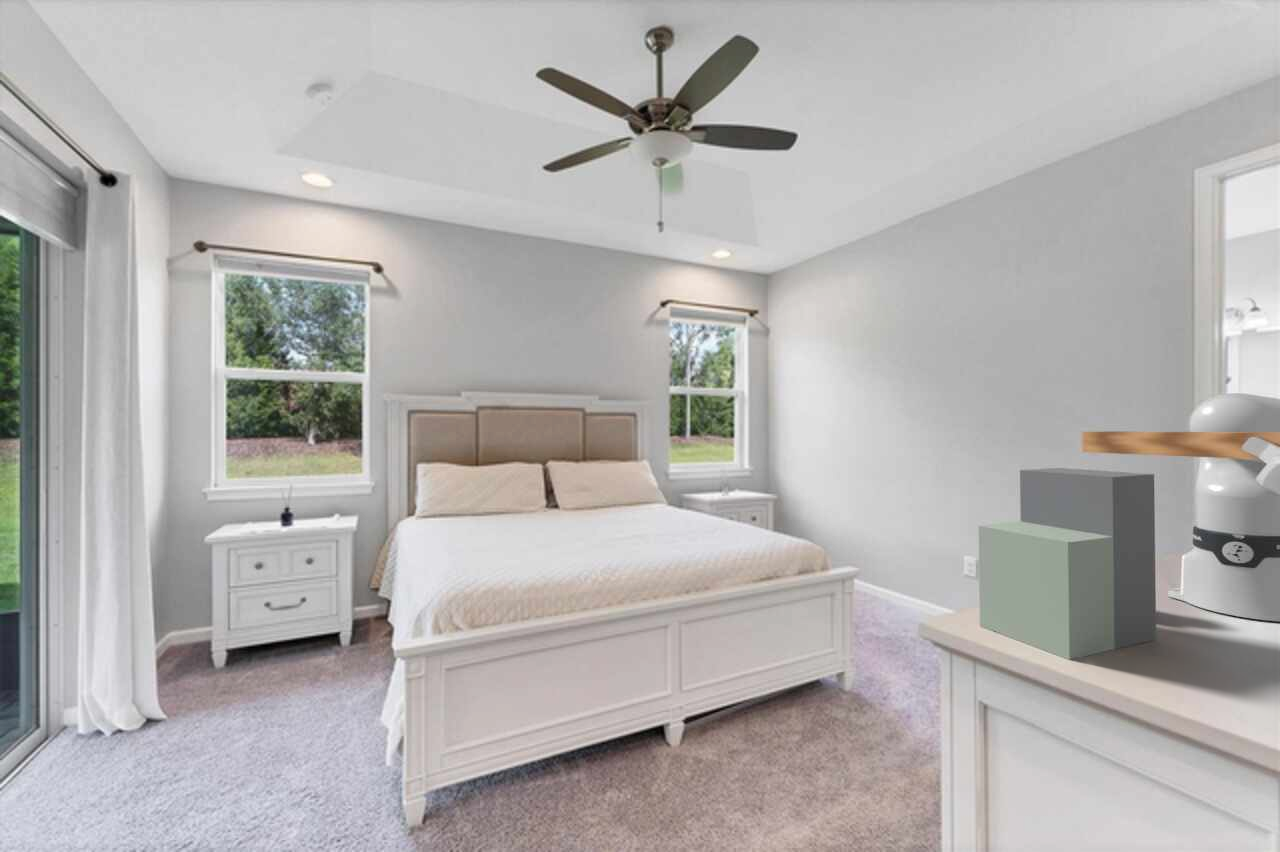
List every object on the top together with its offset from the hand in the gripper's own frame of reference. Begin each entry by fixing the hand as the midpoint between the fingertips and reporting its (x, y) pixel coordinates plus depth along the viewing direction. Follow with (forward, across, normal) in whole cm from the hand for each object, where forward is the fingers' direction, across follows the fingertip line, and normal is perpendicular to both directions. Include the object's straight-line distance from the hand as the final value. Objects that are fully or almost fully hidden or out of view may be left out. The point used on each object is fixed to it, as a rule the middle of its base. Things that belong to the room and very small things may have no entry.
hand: (1259, 441), depth 62 cm
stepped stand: (+6, +5, -40) cm, 41 cm away
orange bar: (+5, 0, -5) cm, 7 cm away
